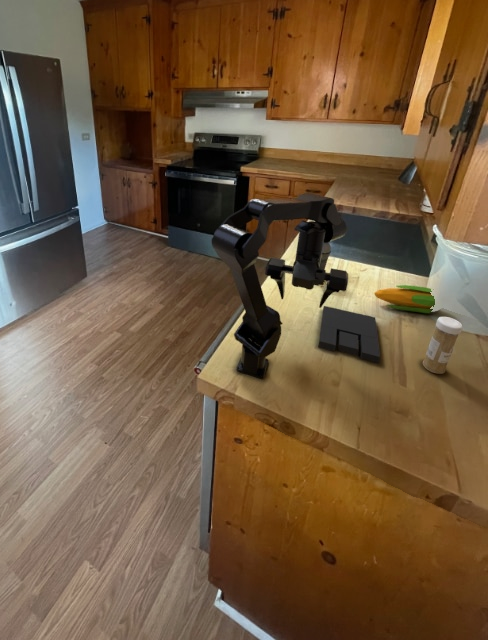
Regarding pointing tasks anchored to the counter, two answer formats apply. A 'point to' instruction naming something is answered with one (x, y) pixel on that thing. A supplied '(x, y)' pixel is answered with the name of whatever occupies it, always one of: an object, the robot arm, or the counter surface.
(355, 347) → the small pad
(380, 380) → the counter surface
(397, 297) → the corn
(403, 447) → the counter surface
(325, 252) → the beverage cup
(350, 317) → the dark u-shaped block
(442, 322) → the tan spice jar
